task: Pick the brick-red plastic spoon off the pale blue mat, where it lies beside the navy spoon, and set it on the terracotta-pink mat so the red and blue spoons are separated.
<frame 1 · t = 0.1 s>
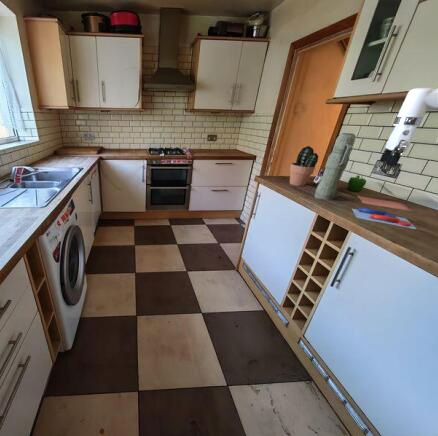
hand: (387, 163, 102), 24 cm above the table, tool pointing down, fingers open, 9 cm apart
bell pepper: (352, 190, 145), on the table
potted plant: (296, 184, 155), on the table
red mat: (383, 203, 124), on the table
blue spoon: (376, 214, 109), resting on blue mat
red spoon: (389, 221, 102), resting on blue mat
blue mat: (380, 218, 106), on the table
stone statue: (323, 198, 130), on the table
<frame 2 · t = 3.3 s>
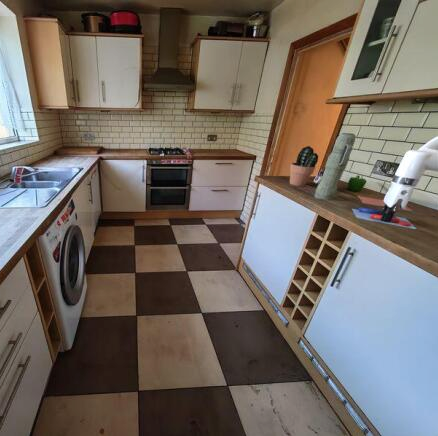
hand: (383, 219, 103), 1 cm above the table, tool pointing down, fingers closed on red spoon, 2 cm apart
red spoon: (389, 221, 102), point 1 cm above the table, touching blue mat, gripper
everything else where it was.
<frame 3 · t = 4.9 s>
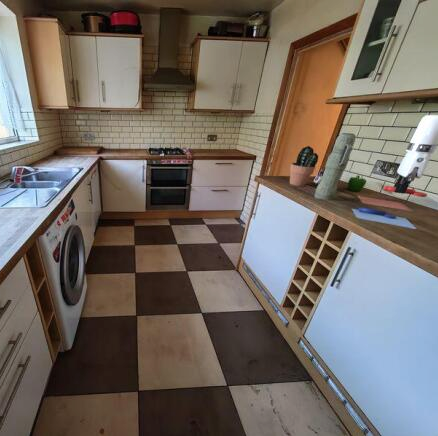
hand: (398, 191, 99), 14 cm above the table, tool pointing down, fingers closed on red spoon
red spoon: (403, 193, 98), point 13 cm above the table, touching gripper
everything else where it was.
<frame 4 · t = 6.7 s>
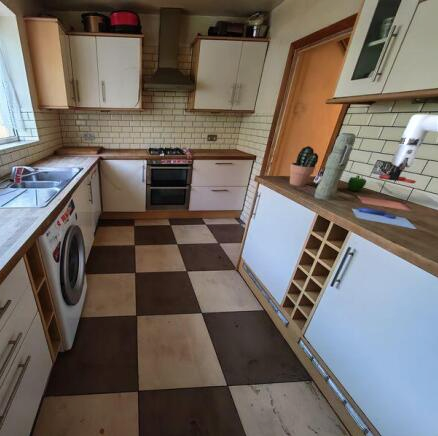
hand: (391, 179, 117), 14 cm above the table, tool pointing down, fingers closed on red spoon
red spoon: (396, 180, 116), point 14 cm above the table, touching gripper
everything else where it was.
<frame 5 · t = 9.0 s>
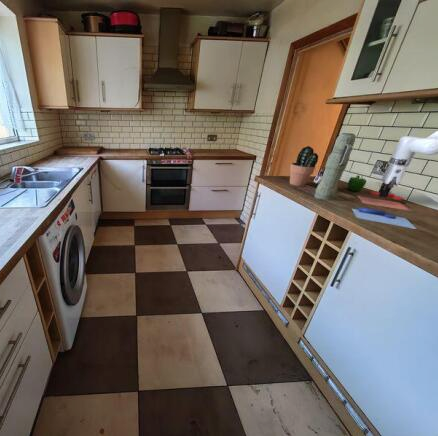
hand: (381, 195, 123), 4 cm above the table, tool pointing down, fingers closed on red spoon
red spoon: (386, 197, 123), point 4 cm above the table, touching gripper
everything else where it was.
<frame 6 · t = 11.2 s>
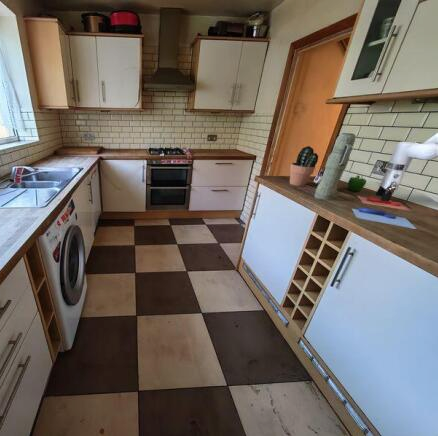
hand: (381, 198, 124), 3 cm above the table, tool pointing down, fingers open, 9 cm apart
red spoon: (383, 203, 124), resting on red mat
everything else where it was.
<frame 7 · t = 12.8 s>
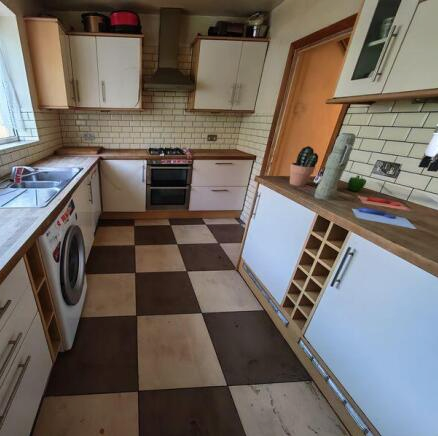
hand: (427, 169, 108), 21 cm above the table, tool pointing down, fingers open, 9 cm apart
nothing on the table moved.
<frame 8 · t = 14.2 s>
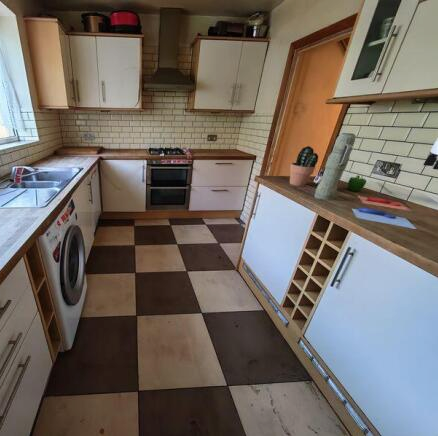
hand: (432, 167, 106), 22 cm above the table, tool pointing down, fingers open, 9 cm apart
nothing on the table moved.
at the end: red spoon inside the target area on the red mat (0.2 cm from its centre), point 0.5 cm above the red mat's base; blue spoon inside the target area on the blue mat (4.0 cm from its centre), point 0.5 cm above the blue mat's base; the gripper is holding nothing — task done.
